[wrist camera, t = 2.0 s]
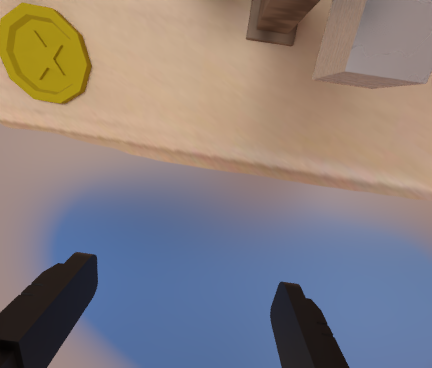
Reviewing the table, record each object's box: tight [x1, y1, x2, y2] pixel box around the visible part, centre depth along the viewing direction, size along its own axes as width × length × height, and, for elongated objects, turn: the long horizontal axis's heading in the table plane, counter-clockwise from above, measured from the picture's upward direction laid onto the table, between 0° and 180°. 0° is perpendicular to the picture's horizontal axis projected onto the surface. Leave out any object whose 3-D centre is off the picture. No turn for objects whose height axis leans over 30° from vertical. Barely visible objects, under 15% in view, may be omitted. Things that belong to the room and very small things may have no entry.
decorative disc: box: [0, 3, 92, 104], centre depth 44 cm, size 17×18×2 cm
